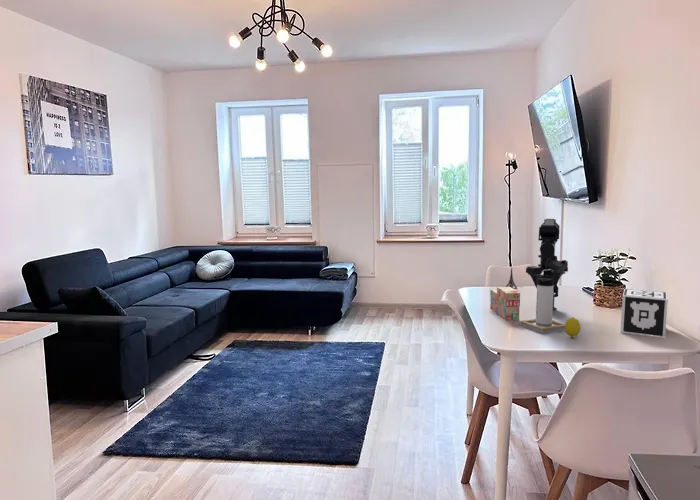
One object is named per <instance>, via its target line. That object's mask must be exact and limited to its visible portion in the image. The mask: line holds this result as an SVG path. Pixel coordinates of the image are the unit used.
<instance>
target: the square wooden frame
mask: <svg viewBox="0 0 700 500" xmlns="http://www.w3.org/2000/svg"><path fill="white" fill-rule="evenodd" d="M519 326H520V327H523V328H526V329H529V330H532V331H534V332H537V333H538V334H539V333H540V334H542V335H545V334H549V333H555V332H557V333H558V332H563V331H564V332H565V323H563V322H560V321H556V320H554V319H552V326H549V327H543V326H538V325H536V318H530V319H523V320H520V321H519Z"/></svg>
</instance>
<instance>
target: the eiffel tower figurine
mask: <svg viewBox="0 0 700 500" xmlns="http://www.w3.org/2000/svg"><path fill="white" fill-rule="evenodd" d="M513 277H514V276H513V267H510V276H509V280H508V283H507V285H502V286H500V287H511V288H513V289H515V290H518V289H519V288H523V286H517V285H516V283H515V282H514V278H513Z"/></svg>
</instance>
